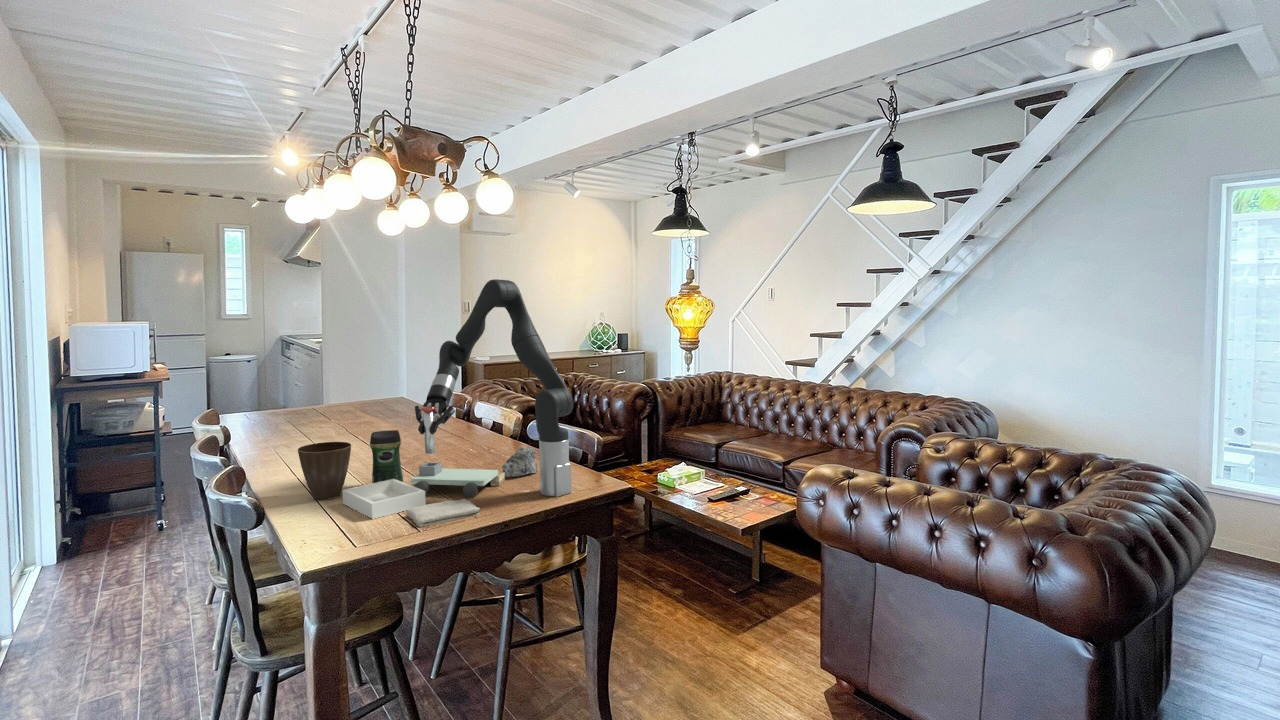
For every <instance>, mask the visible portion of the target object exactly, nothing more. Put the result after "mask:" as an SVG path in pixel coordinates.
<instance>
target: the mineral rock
mask: <svg viewBox="0 0 1280 720" xmlns="http://www.w3.org/2000/svg"><path fill="white" fill-rule="evenodd" d="M501 468H502V473H505V477H523V476H524V475H525V476H526V475H528V474H535V473H538V466H537V463H536V451H535V448H533V447H527V448H526V447H525V446H520V447H519V448H518V449H517V450H516V452H515V453H514V454H513V455H510V457H509V458H508V459H507V460H506V461H505V463H503V465H502V466H501Z"/></svg>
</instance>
